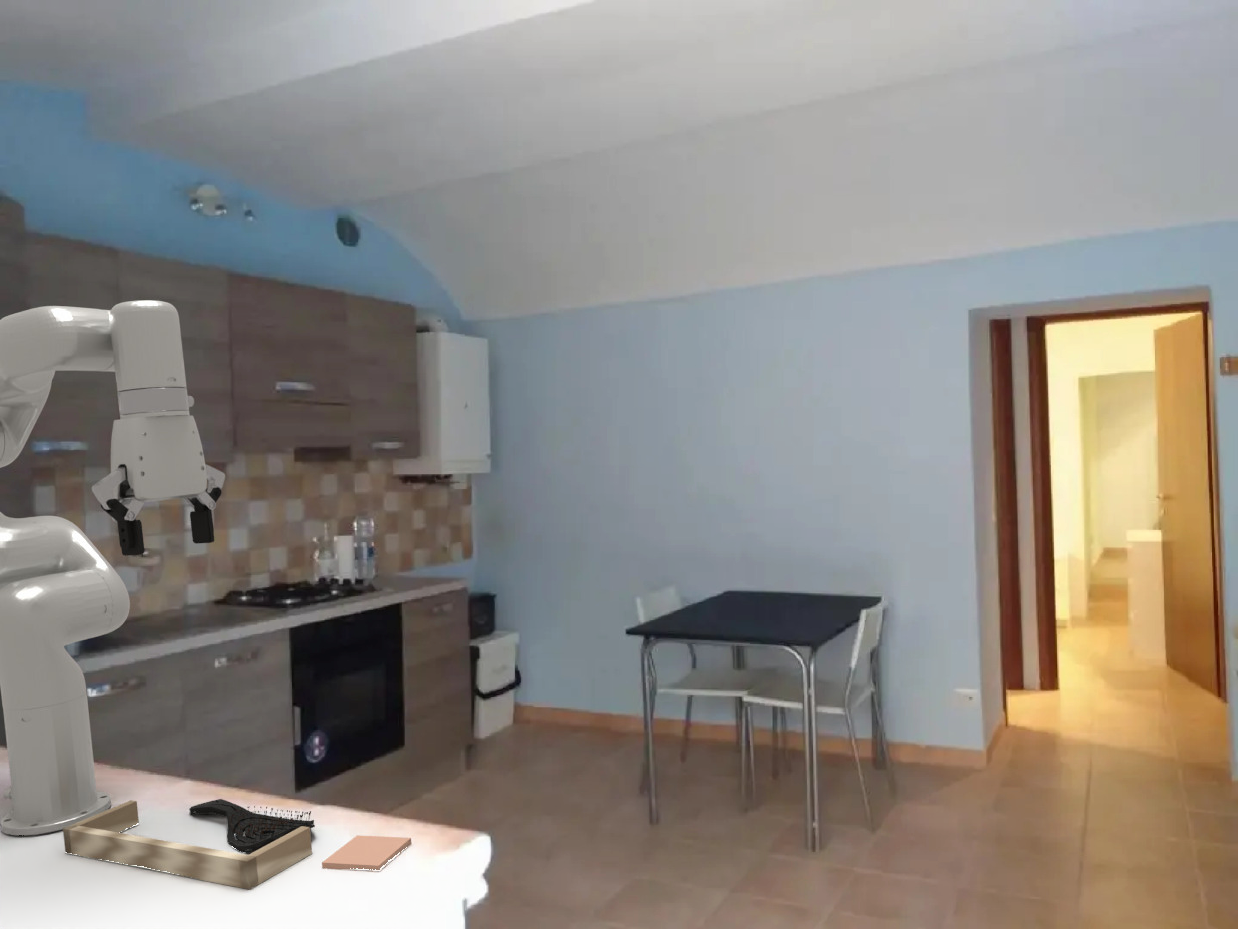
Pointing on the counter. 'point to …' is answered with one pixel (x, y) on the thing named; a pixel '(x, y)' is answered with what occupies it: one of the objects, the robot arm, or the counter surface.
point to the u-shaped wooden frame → (181, 850)
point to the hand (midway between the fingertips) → (169, 548)
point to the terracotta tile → (366, 852)
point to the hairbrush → (251, 824)
